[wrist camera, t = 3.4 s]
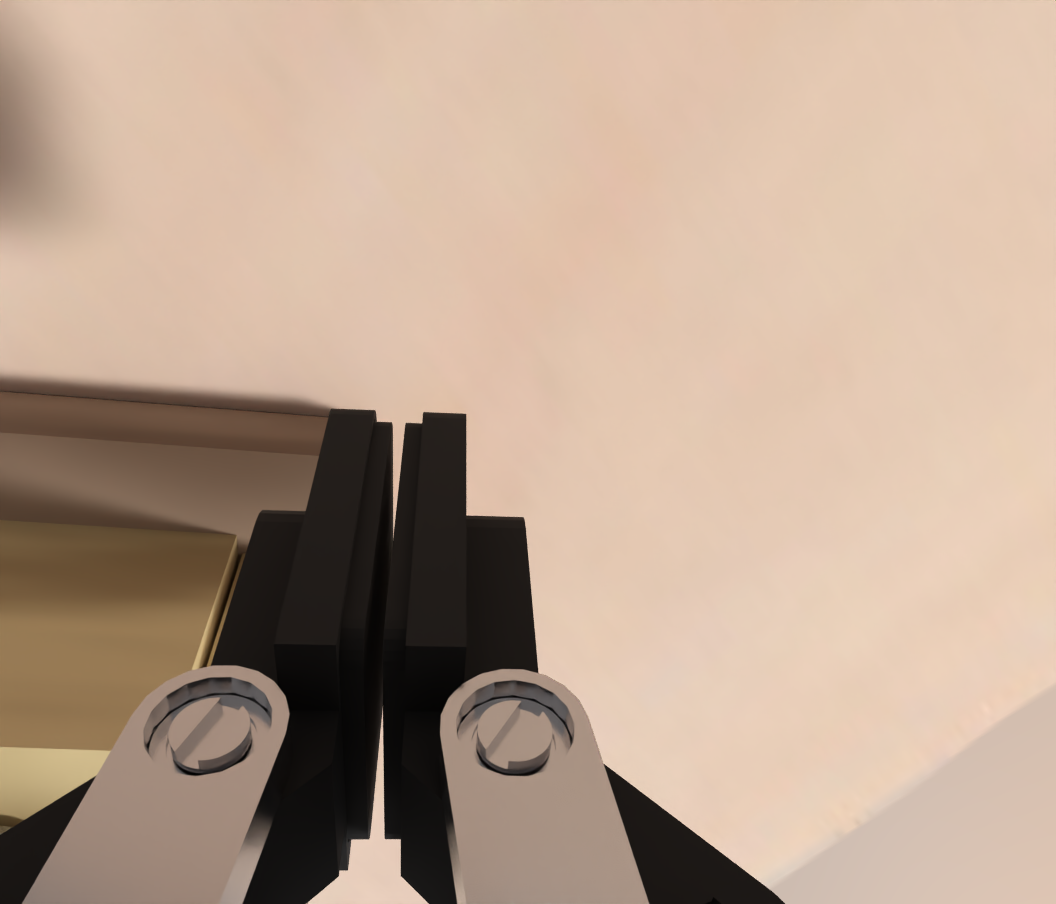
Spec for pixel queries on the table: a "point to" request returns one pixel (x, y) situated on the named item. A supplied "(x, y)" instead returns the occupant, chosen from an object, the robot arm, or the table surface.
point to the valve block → (120, 564)
